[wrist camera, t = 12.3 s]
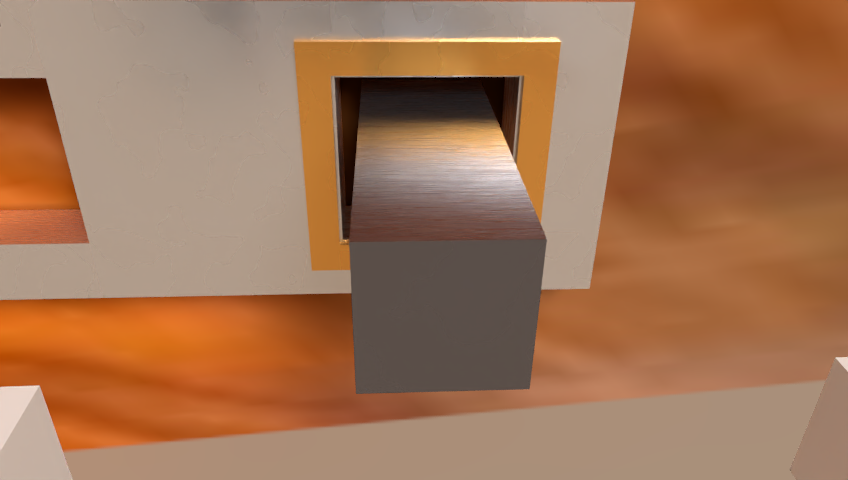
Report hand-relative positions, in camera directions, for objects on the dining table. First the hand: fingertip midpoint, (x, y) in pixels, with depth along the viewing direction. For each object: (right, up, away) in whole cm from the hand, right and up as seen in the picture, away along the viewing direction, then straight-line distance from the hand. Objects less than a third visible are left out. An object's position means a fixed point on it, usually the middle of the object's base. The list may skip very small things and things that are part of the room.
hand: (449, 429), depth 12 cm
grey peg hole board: (-7, +7, +12) cm, 16 cm away
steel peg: (-1, +7, +13) cm, 14 cm away
